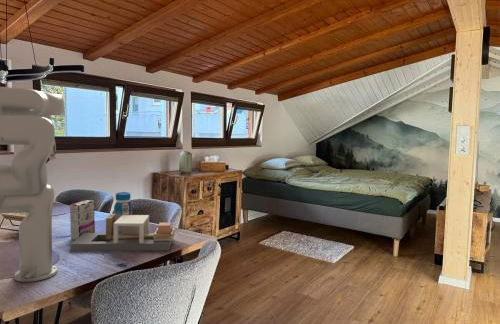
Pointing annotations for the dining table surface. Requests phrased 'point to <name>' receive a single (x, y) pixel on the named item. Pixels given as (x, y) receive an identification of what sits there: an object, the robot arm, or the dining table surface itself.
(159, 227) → the terracotta block
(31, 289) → the dining table surface
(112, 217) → the sled
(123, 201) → the beverage bottle
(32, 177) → the robot arm
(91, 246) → the track board
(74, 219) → the candy bar box
